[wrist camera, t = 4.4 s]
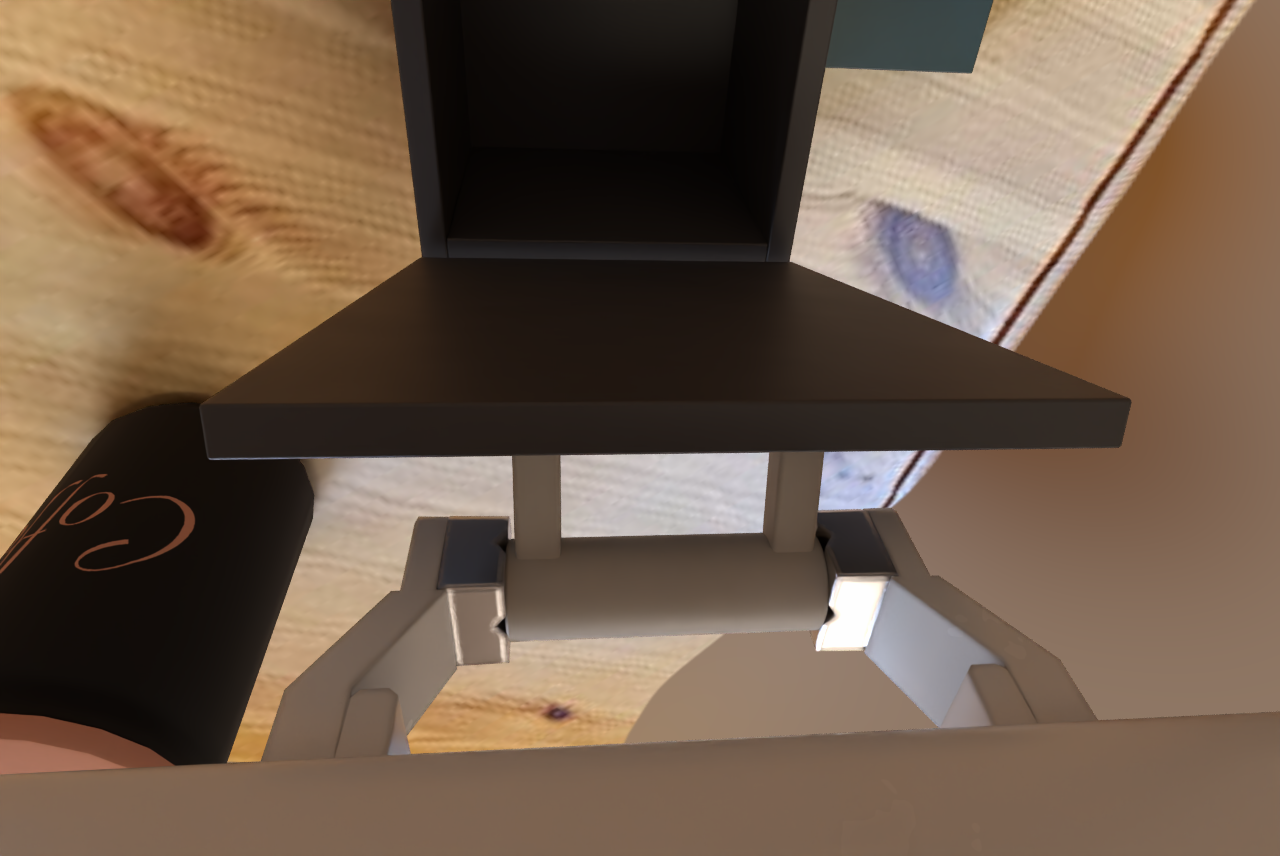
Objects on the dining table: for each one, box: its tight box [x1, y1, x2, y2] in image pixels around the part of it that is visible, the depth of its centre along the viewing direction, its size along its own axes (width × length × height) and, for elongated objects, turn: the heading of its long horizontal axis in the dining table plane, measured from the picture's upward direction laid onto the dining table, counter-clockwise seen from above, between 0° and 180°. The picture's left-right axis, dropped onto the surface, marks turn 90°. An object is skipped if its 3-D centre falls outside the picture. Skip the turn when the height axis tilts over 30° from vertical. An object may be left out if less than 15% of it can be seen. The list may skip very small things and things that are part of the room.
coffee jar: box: [0, 402, 314, 774], centre depth 33 cm, size 11×11×18 cm
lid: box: [199, 257, 1131, 642], centre depth 17 cm, size 15×12×4 cm
